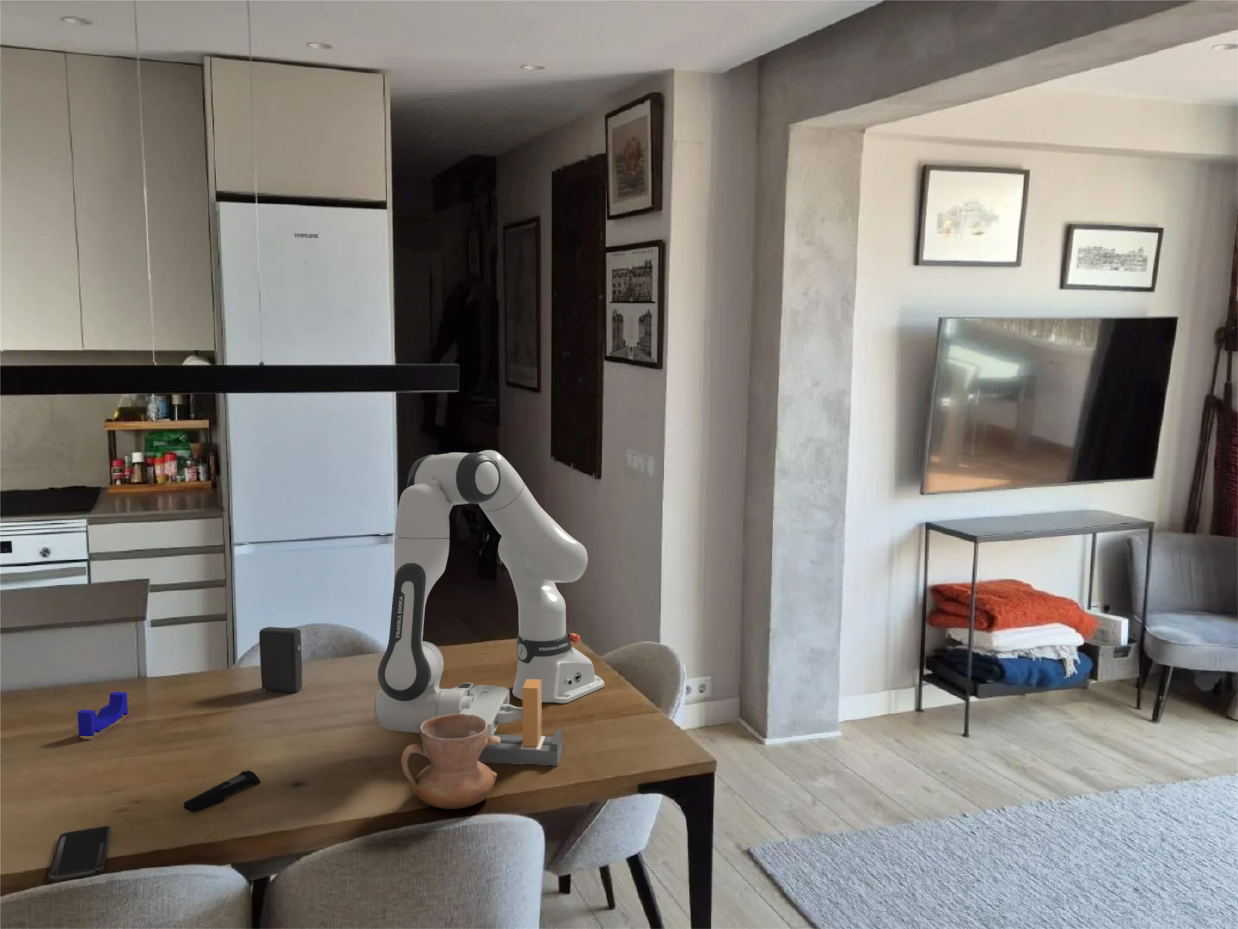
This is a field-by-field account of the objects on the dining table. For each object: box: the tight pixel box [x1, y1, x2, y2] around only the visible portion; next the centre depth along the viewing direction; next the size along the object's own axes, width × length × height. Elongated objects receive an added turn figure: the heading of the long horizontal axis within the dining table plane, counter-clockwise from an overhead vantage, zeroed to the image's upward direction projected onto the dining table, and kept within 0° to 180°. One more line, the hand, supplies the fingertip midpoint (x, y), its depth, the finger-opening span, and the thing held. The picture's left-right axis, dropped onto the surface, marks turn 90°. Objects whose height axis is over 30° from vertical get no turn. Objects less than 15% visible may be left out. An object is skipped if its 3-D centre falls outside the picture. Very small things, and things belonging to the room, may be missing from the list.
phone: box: [47, 825, 112, 883], centre depth 165 cm, size 8×1×15 cm
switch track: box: [478, 729, 563, 767], centre depth 203 cm, size 20×7×4 cm, turn 85°
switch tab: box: [521, 679, 543, 746], centre depth 202 cm, size 3×5×12 cm, turn 175°
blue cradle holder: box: [77, 691, 129, 737], centre depth 216 cm, size 12×4×6 cm, turn 172°
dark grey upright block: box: [258, 626, 303, 693], centre depth 238 cm, size 9×4×15 cm, turn 82°
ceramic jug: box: [400, 714, 501, 810], centre depth 184 cm, size 18×14×14 cm
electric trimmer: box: [183, 770, 261, 813], centre depth 185 cm, size 4×16×3 cm, turn 151°
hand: (523, 714), depth 202 cm, fingers closed
